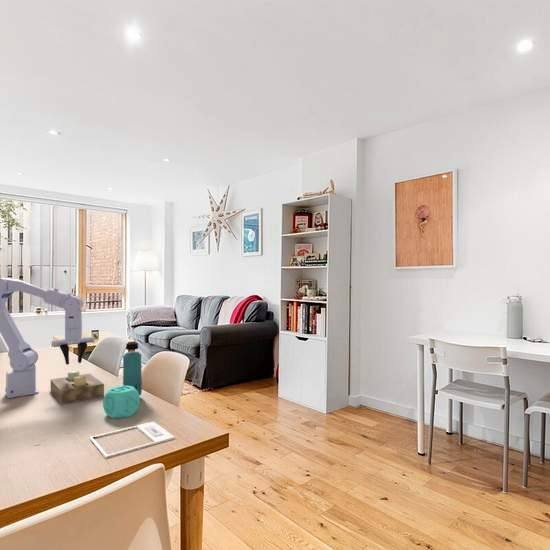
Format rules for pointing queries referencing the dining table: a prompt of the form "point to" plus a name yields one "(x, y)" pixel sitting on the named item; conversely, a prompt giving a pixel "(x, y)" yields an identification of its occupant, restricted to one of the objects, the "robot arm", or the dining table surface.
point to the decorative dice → (121, 401)
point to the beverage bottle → (132, 368)
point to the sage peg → (72, 375)
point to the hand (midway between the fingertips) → (73, 363)
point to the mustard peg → (79, 381)
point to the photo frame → (148, 429)
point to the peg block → (76, 389)
